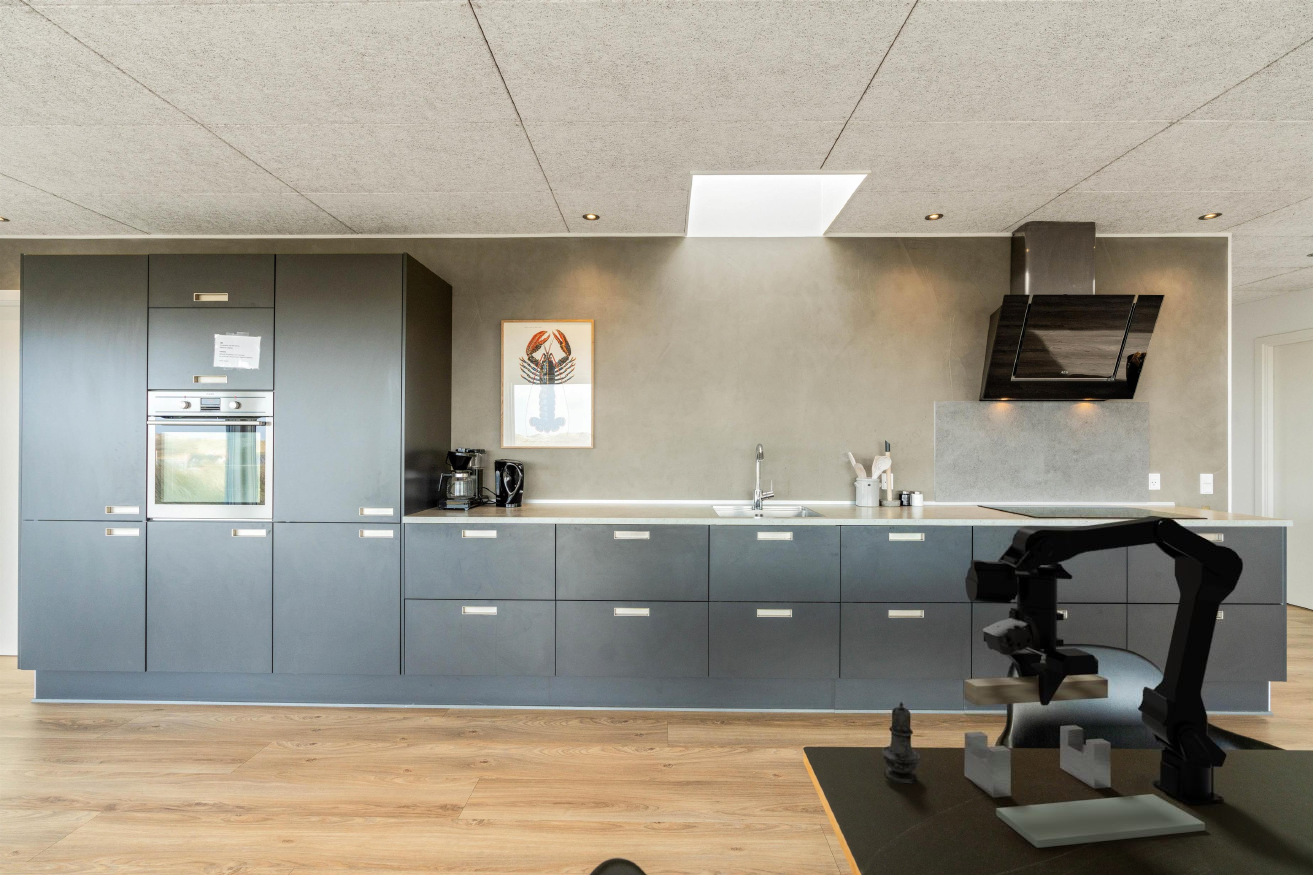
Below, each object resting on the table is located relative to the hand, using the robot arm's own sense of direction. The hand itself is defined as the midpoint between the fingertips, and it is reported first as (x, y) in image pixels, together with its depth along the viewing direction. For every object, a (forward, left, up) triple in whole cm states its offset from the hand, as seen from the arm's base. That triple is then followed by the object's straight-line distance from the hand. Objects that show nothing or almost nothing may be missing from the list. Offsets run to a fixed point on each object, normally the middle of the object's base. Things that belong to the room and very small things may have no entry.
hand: (1036, 701), depth 106 cm
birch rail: (0, 0, 0) cm, 0 cm away
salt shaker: (+21, -5, -13) cm, 25 cm away
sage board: (0, +12, -13) cm, 18 cm away
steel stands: (0, 0, -13) cm, 13 cm away
